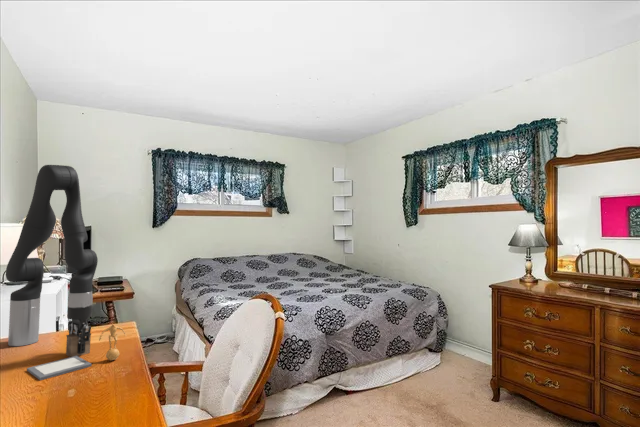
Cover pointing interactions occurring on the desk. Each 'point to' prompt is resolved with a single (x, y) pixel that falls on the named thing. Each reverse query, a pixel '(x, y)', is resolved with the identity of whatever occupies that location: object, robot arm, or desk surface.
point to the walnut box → (75, 345)
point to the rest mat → (58, 367)
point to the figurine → (114, 352)
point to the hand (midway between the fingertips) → (78, 351)
